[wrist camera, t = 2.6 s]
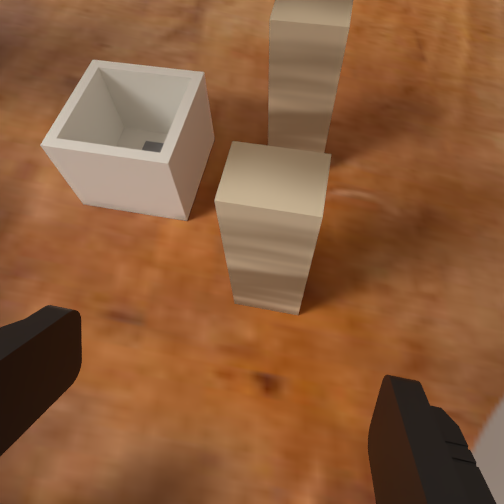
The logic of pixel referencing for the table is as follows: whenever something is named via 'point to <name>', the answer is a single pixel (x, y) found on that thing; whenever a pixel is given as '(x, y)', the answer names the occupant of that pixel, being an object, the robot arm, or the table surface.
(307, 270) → the tall square pillar
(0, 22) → the table surface
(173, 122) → the open square box
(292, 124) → the beige rectangular block
